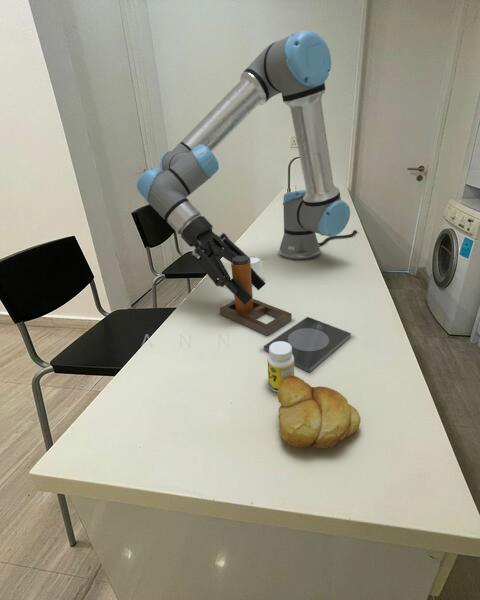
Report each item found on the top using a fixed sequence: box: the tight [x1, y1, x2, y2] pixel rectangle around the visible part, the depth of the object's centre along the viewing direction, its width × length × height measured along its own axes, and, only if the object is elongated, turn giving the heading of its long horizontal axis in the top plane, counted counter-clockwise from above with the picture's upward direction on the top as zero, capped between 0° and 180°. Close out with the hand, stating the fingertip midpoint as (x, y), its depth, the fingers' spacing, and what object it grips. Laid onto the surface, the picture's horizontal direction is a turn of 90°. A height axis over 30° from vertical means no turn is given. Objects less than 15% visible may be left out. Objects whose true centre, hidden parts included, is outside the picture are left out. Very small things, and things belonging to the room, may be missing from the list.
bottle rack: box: [219, 298, 293, 337], centre depth 83 cm, size 9×16×2 cm, turn 49°
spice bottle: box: [230, 255, 254, 314], centre depth 83 cm, size 5×5×15 cm
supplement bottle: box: [267, 341, 295, 393], centre depth 59 cm, size 5×5×8 cm
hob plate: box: [263, 316, 352, 373], centre depth 73 cm, size 16×12×1 cm
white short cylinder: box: [248, 256, 263, 286], centre depth 103 cm, size 7×7×7 cm
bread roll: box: [276, 375, 362, 449], centre depth 50 cm, size 13×10×8 cm
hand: (255, 293), depth 82 cm, fingers open, 8 cm apart
